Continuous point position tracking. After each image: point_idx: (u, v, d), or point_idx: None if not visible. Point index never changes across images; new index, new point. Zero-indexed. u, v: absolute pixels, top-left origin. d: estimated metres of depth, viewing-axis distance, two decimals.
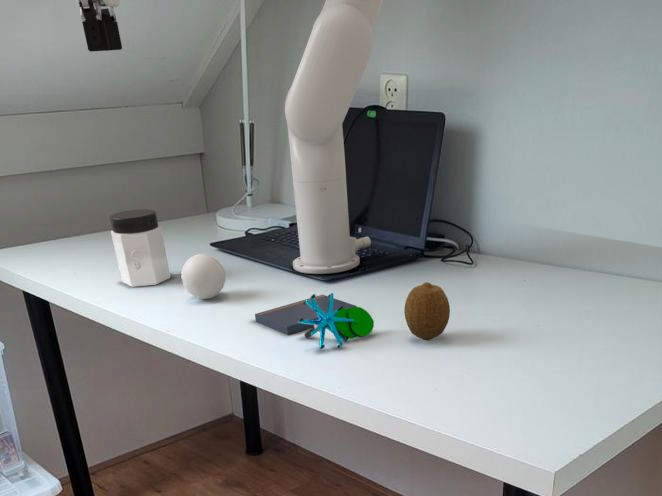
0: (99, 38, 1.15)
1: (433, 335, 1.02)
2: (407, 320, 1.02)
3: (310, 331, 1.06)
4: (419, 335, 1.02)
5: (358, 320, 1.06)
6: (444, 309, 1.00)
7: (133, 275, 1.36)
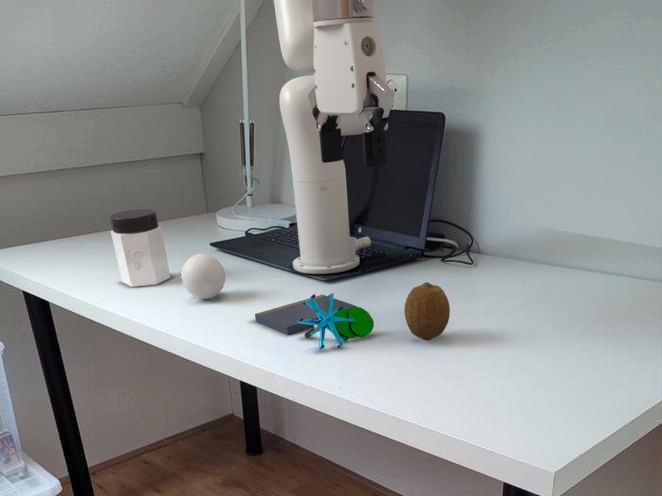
0: (383, 151, 0.95)
1: (433, 335, 1.02)
2: (407, 320, 1.02)
3: (310, 331, 1.06)
4: (419, 335, 1.02)
5: (358, 320, 1.06)
6: (444, 309, 1.00)
7: (133, 275, 1.36)
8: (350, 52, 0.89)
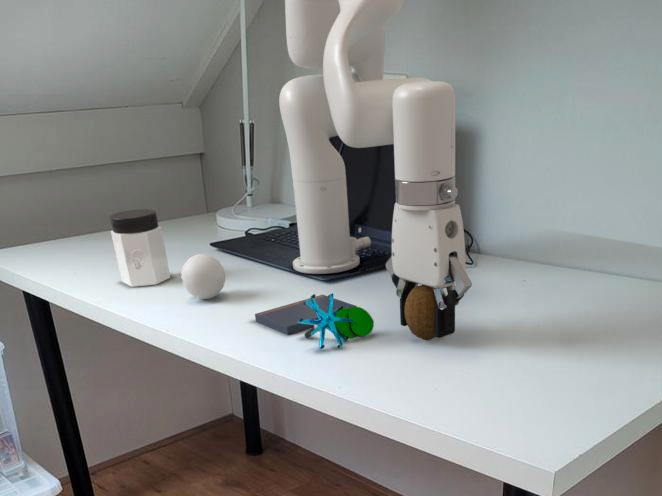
0: (453, 323, 1.00)
1: (433, 335, 1.02)
2: (407, 320, 1.02)
3: (310, 331, 1.06)
4: (419, 335, 1.02)
5: (358, 320, 1.06)
6: None
7: (133, 275, 1.36)
8: (434, 235, 0.93)
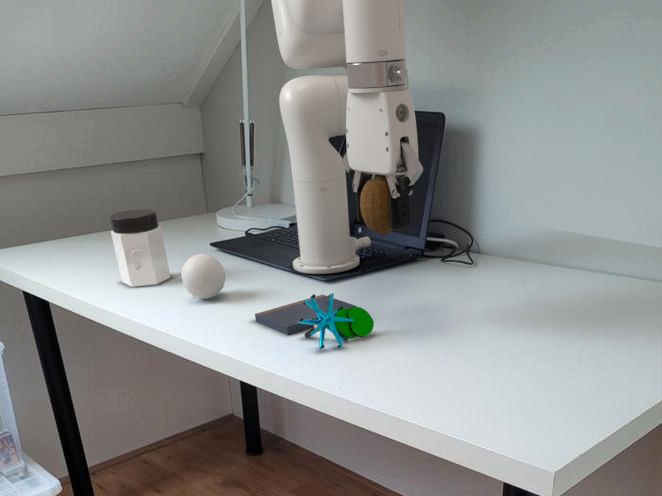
0: (408, 214, 1.01)
1: (388, 227, 1.03)
2: (362, 213, 1.03)
3: (310, 331, 1.06)
4: (374, 228, 1.03)
5: (358, 320, 1.06)
6: None
7: (133, 275, 1.36)
8: (385, 118, 0.94)
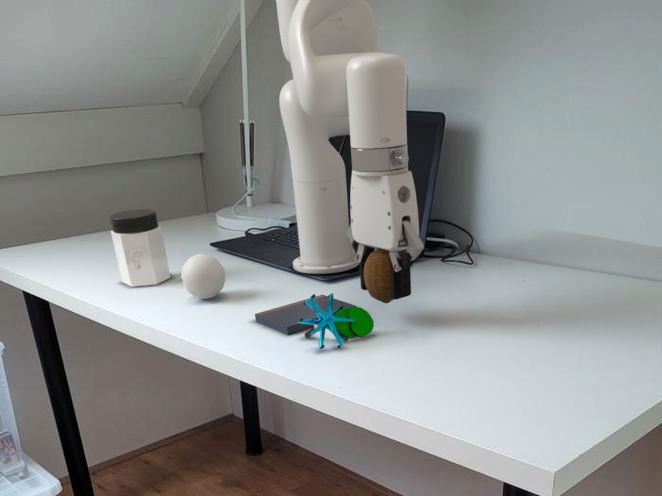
0: (409, 285, 1.06)
1: (390, 297, 1.08)
2: (366, 283, 1.08)
3: (310, 331, 1.06)
4: (377, 297, 1.08)
5: (358, 320, 1.06)
6: None
7: (133, 275, 1.36)
8: (387, 200, 0.99)
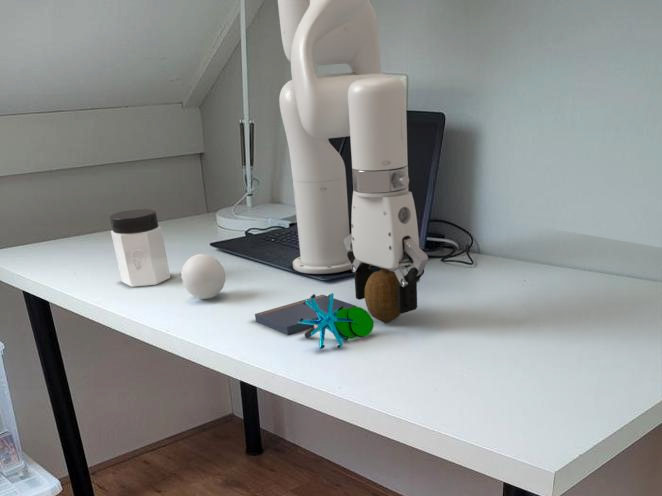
0: (415, 299, 1.06)
1: (391, 317, 1.09)
2: (367, 303, 1.09)
3: (310, 331, 1.06)
4: (378, 317, 1.10)
5: (358, 320, 1.06)
6: None
7: (133, 275, 1.36)
8: (388, 220, 1.00)
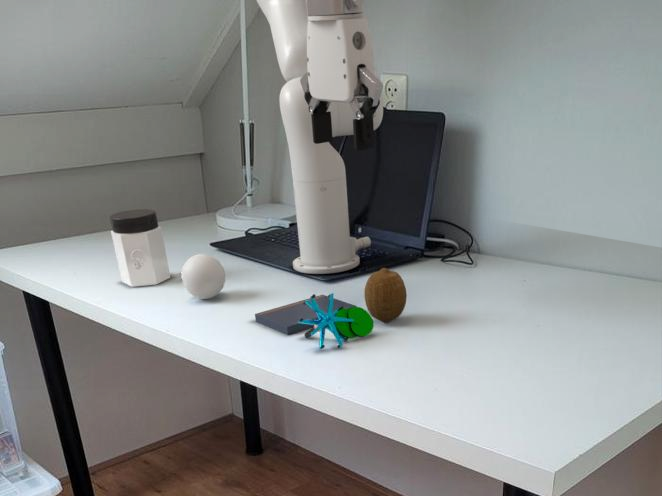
0: (372, 136, 1.05)
1: (391, 317, 1.09)
2: (367, 303, 1.09)
3: (310, 331, 1.06)
4: (378, 317, 1.10)
5: (358, 320, 1.06)
6: (400, 293, 1.08)
7: (133, 275, 1.36)
8: (342, 46, 0.98)
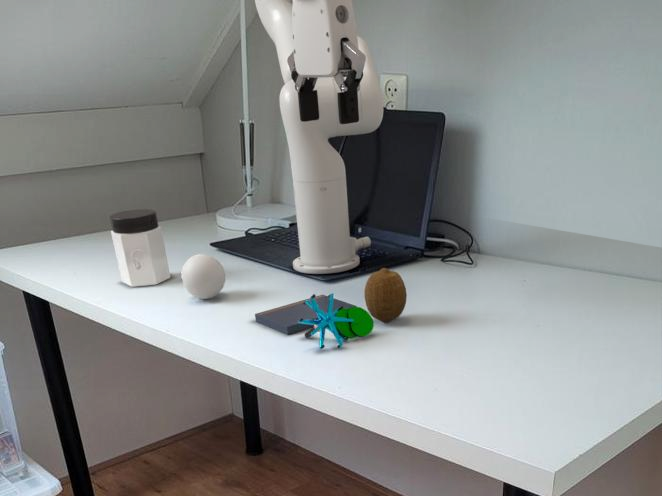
0: (356, 109, 1.06)
1: (391, 317, 1.09)
2: (367, 303, 1.09)
3: (310, 331, 1.06)
4: (378, 317, 1.10)
5: (358, 320, 1.06)
6: (400, 293, 1.08)
7: (133, 275, 1.36)
8: (325, 19, 1.00)
